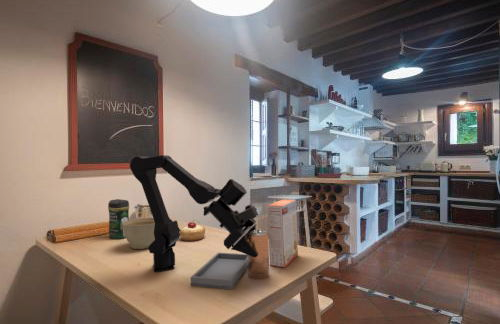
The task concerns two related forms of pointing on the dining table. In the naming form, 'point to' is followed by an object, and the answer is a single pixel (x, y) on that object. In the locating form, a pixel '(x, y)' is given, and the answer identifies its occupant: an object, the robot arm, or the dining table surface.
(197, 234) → the pastry
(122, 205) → the coffee jar
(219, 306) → the dining table surface
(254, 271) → the copper cylinder
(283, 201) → the cracker box
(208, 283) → the gray tray
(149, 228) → the planter bowl
